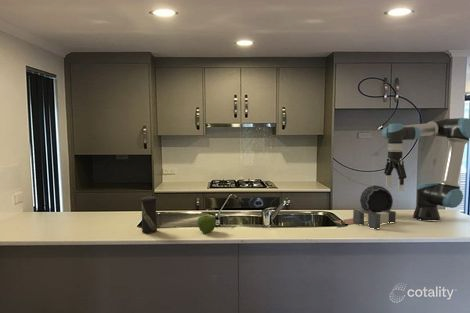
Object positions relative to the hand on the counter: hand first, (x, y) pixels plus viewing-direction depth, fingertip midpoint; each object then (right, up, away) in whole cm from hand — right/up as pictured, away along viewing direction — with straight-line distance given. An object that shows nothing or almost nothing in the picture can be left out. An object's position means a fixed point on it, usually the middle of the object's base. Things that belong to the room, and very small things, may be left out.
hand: (394, 188), depth 206 cm
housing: (-12, -23, +11) cm, 28 cm away
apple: (-106, -25, -2) cm, 109 cm away
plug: (-1, -23, +16) cm, 28 cm away
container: (-139, -25, +1) cm, 141 cm away
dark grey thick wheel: (+4, -21, +37) cm, 43 cm away
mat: (-18, -22, +21) cm, 36 cm away
